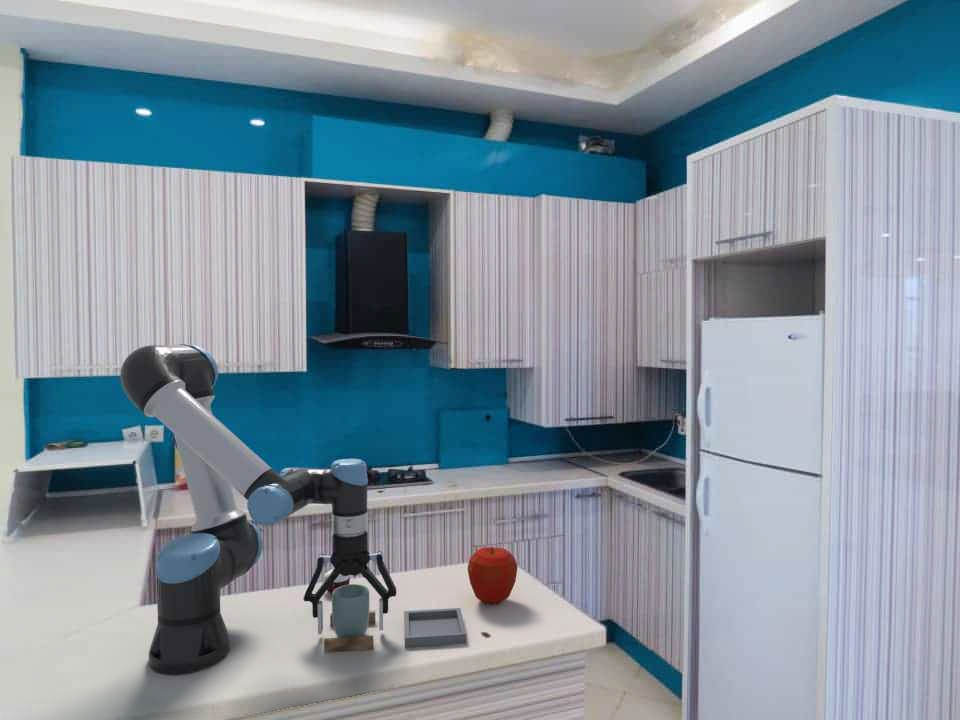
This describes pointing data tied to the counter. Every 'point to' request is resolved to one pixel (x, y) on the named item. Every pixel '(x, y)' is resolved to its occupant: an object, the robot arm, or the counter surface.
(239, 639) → the counter surface
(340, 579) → the cocoa
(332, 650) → the dock rails
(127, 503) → the counter surface
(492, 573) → the apple
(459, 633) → the dock cradle
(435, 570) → the counter surface
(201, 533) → the robot arm
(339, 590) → the cup
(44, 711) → the counter surface
